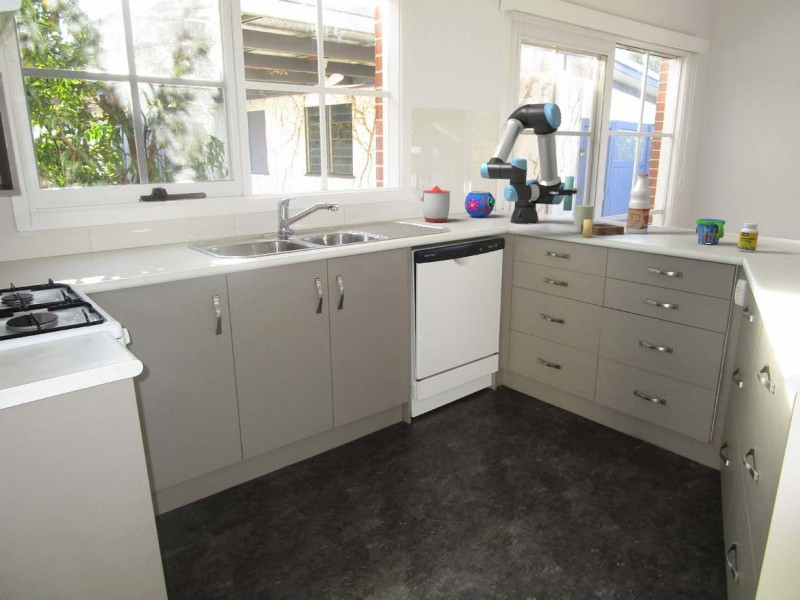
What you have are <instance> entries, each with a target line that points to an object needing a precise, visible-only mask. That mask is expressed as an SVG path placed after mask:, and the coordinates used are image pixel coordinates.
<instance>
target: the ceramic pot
mask: <svg viewBox="0 0 800 600" xmlns="http://www.w3.org/2000/svg"><path fill="white" fill-rule="evenodd" d="M495 203H496V198H494V196H493V195H492V193H491V192H490V191H486V190H485V191H484V190H482V191H479V190H473V191H470V192H468V193H467V195H466V197H465V201H464V209H465V211H466V213H467V214H468V215H470V216H471V217H474V218H486V217H487V216H489V215H491V213H492V212H493V210H494V208H495Z"/></svg>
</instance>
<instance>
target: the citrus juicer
mask: <svg viewBox="0 0 800 600" xmlns="http://www.w3.org/2000/svg"><path fill="white" fill-rule="evenodd" d="M450 193H451V191H450V190H445V189H444V190H443V189H441V188H440V187H439V186H438V185H435V186H434V187H433V188H432V189H431V190H430V189H429V190H423V193H422V194H423V196H421V197H420V198H419V201H420V202H422V212H423V217H424V218H423V219H424V220H425V222H428V223H444V222H447V219H448V217H449V213H450V203H451V202H450V200H451V199H450V196H451V194H450Z"/></svg>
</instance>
